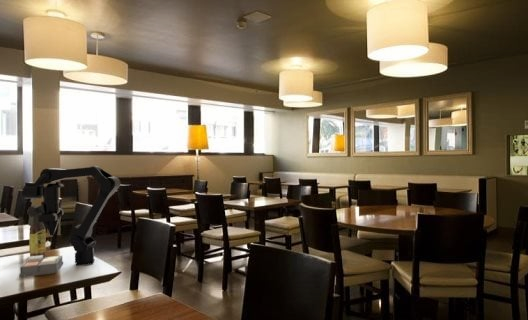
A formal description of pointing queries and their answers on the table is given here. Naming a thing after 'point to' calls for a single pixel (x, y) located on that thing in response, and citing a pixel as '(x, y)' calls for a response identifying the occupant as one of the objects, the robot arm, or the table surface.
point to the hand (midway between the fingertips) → (51, 235)
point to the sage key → (54, 257)
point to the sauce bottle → (37, 237)
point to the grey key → (35, 258)
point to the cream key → (49, 261)
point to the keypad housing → (41, 268)
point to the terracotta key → (31, 264)
